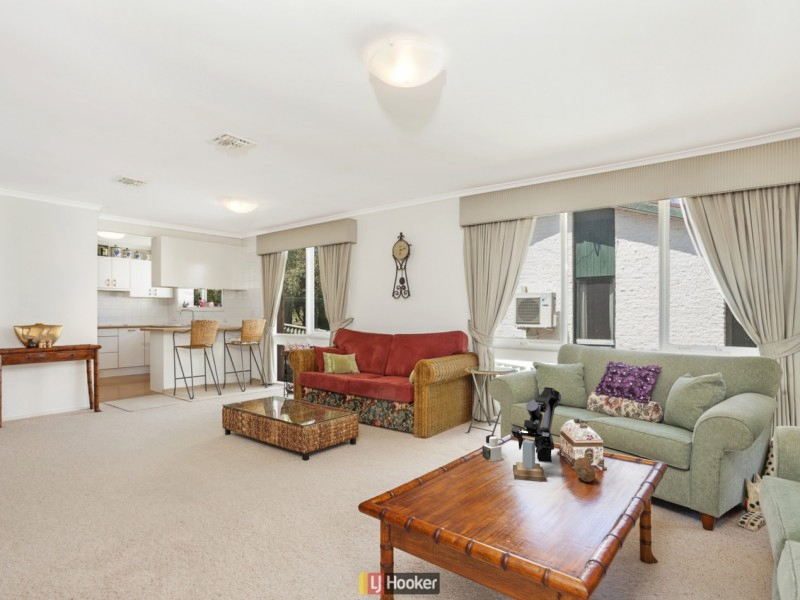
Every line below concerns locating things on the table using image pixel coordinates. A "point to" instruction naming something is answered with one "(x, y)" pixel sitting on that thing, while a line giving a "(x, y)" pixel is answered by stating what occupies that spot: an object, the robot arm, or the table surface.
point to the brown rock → (584, 469)
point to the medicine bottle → (491, 449)
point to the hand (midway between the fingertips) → (527, 450)
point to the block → (529, 454)
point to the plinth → (529, 477)
